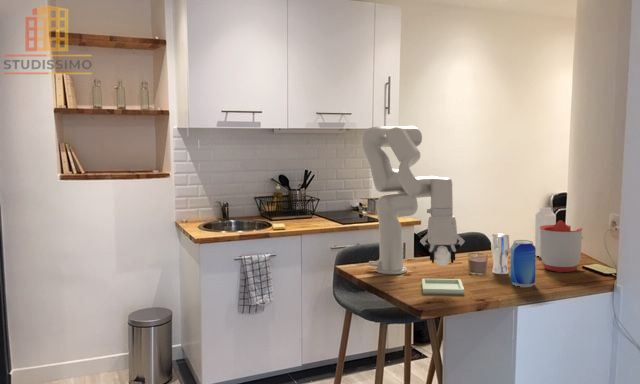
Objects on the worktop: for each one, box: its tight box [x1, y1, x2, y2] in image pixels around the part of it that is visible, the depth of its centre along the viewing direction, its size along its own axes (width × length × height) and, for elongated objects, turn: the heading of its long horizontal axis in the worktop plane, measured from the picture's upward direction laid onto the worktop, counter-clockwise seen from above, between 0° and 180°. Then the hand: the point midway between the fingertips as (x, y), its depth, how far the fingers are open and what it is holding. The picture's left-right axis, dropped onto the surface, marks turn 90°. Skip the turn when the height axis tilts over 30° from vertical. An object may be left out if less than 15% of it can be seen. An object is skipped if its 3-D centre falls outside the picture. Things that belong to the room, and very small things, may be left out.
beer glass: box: [490, 233, 511, 275], centre depth 213 cm, size 7×7×15 cm
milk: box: [534, 206, 557, 258], centre depth 238 cm, size 6×6×22 cm
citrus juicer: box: [540, 219, 584, 273], centre depth 215 cm, size 16×17×20 cm
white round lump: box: [434, 245, 451, 267], centre depth 191 cm, size 6×6×7 cm
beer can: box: [510, 239, 536, 288], centre depth 194 cm, size 8×8×16 cm
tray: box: [421, 278, 465, 296], centre depth 193 cm, size 14×14×2 cm
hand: (442, 261), depth 192 cm, fingers closed on white round lump, 6 cm apart
